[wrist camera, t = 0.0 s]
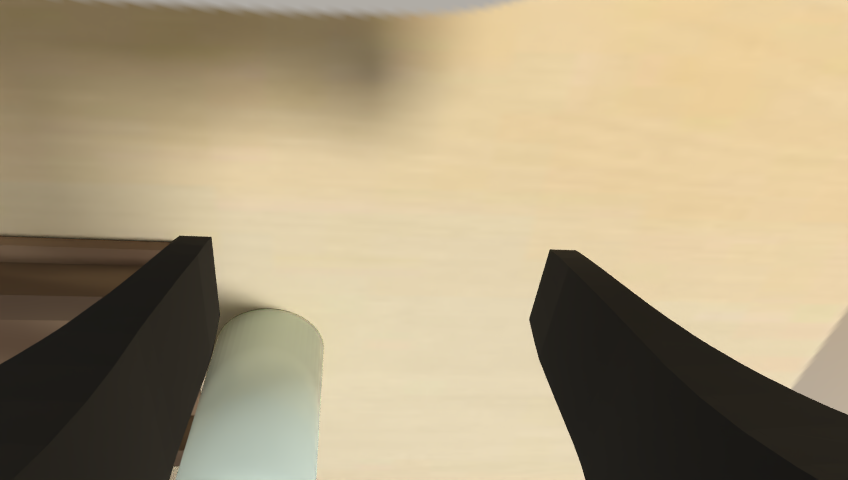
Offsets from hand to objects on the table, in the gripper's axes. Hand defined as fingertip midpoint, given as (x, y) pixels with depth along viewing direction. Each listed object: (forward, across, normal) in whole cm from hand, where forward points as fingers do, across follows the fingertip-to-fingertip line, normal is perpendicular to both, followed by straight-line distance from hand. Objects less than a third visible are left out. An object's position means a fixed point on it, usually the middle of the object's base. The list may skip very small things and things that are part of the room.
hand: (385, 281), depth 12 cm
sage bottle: (+10, +4, +12) cm, 16 cm away
